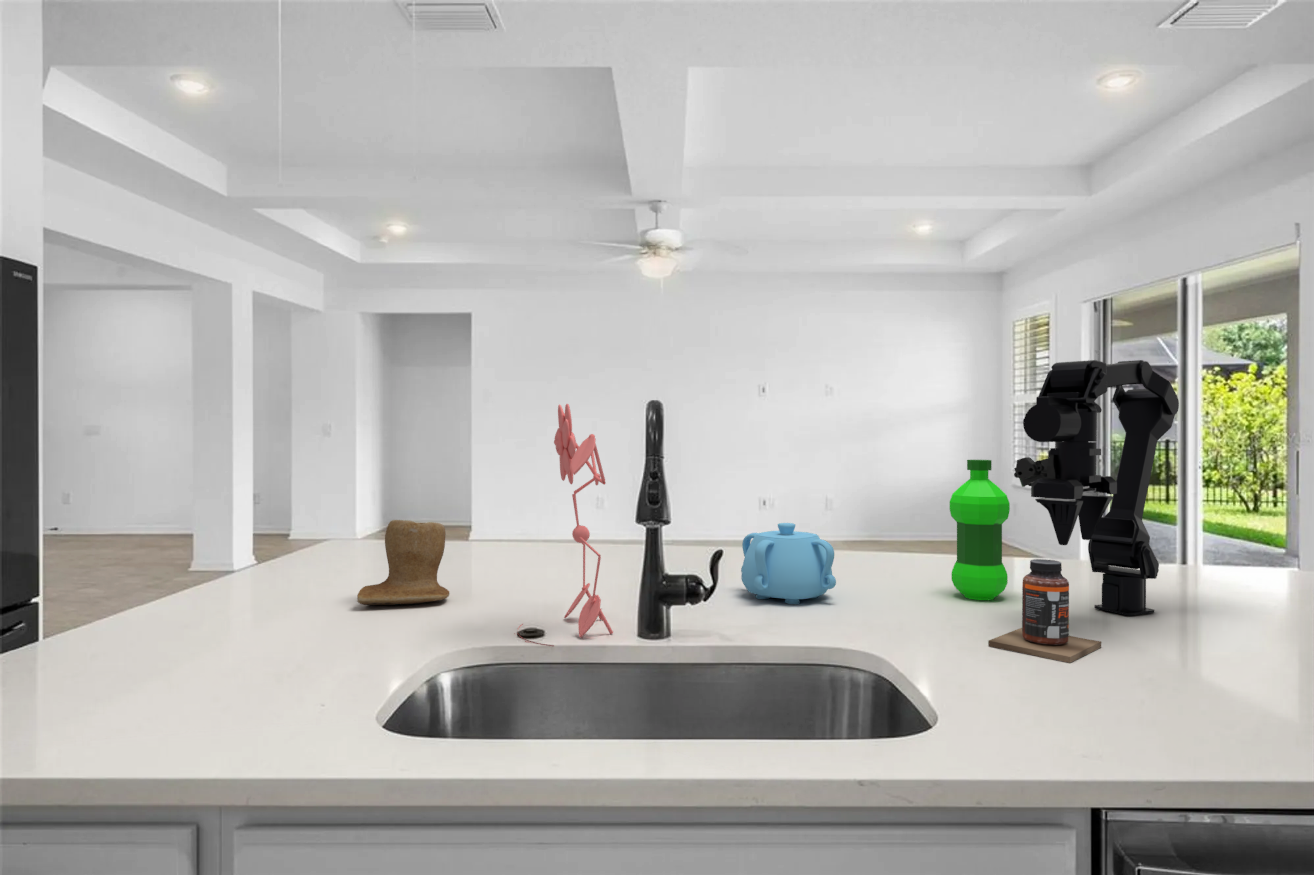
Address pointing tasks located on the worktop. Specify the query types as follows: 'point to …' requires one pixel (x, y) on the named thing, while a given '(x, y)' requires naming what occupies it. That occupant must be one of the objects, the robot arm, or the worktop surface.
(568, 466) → the figurine
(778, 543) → the decorative pot
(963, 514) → the plastic bottle
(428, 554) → the brown chair seat
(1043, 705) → the worktop surface
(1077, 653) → the walnut coaster board
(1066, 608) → the supplement bottle
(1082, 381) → the robot arm
